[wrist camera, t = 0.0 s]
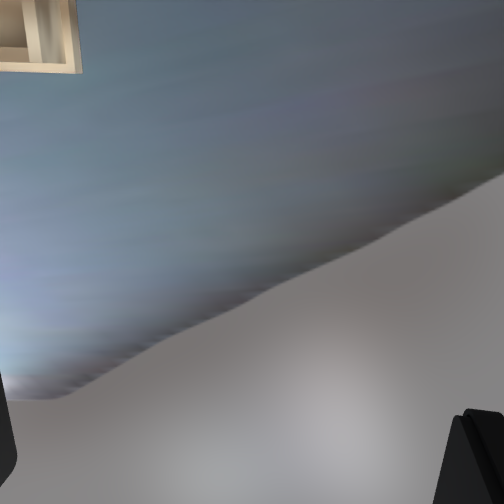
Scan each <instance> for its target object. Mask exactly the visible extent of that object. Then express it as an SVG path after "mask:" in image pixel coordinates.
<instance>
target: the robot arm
mask: <svg viewBox="0 0 504 504" xmlns="http://www.w3.org/2000/svg"><path fill="white" fill-rule="evenodd" d="M16 461H17V450H16V445H15V441H14V436H13V431H12V426H11V421H10V417H9V412H8V407H7V402H6V397H5V392H4V388H3V383H2V378H1V373H0V487H1V485H2V484H3V483H4V482H5V480H6V479H7V478H8V477H9V475H10V474H11V472H12V471H13V469H14V467H15V465H16ZM433 504H504V416H503V415H502V414H501V413H499V412H492V411H485V410H477V409H466V410H465V411H464V414H463V416H459V415H456V416H455V417H454V418H453V421H452V425H451V429H450V433H449V437H448V442H447V446H446V450H445V454H444V458H443V463H442V467H441V471H440V476H439V479H438V483H437V488H436V492H435V496H434V500H433Z"/></svg>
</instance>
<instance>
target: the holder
mask: <svg viewBox="0 0 504 504" xmlns="http://www.w3.org/2000/svg"><path fill="white" fill-rule="evenodd" d="M0 71H14V72H45V73H75V74H83V70H82V60H81V50H80V40H79V30H78V20H77V10H76V0H0Z"/></svg>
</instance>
